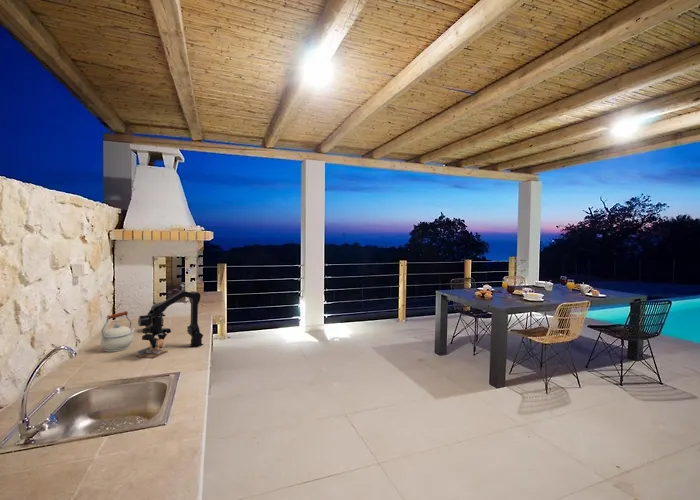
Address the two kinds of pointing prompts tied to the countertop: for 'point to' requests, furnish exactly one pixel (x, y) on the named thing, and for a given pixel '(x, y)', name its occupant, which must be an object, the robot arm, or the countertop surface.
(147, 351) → the board
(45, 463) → the countertop surface
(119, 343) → the kettle
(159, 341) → the tan cube
